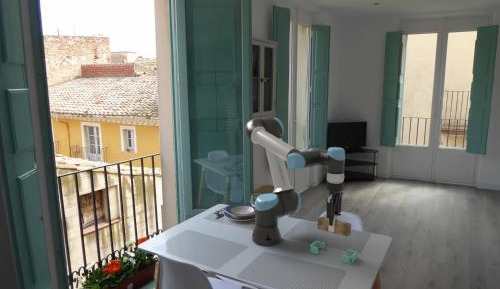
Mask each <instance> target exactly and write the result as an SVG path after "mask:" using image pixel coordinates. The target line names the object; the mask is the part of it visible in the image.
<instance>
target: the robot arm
mask: <svg viewBox="0 0 500 289" xmlns="http://www.w3.org/2000/svg"><path fill="white" fill-rule="evenodd" d="M284 132H285V127H284V124H283V122H282V121H281V120H280V119H279V118H278V117H272V116H269V117H261V118H259V117H258V118H253V119H250V120H249V121H248V122H247V123H245V126H244V134H245V137H246V139H247V140H248V141H249V142H251V143H253V144H255V145H259V146H261V147H263V148H265V152H266V158H267V161H268V165H269V169H270V170H269V171H270V173H271V179H272V182H273V187H274V189H273V191H272V193H262V194H260V195H257V197H256V199H255V205H254V208H255V215H254V216H255V226H254V228H253V232H252V233H251V234H252V235H251V240H252V242H253V243H254V244H256V245H259V246H275V245H277V244H279V243H280V242H281V241H282V235H281V231H280V228H279V218H280V219H281V218H283V217H287V216H289V215H293V214H296V213H297V212H299V210H300V208H301V207H302V198H301V195H300V194H299V192H298V191H295V188H294V187H293V186H292V185H291V182H290V179H289V176H288V170H287V167H288V169H290V171H300V170H302V169H307V168H312V167H313V168H314V167H317V166H319V167H324V168H326V190H327V191H329V194H328V197H326V198H325V201H326V217H325V218H328V219H329V226H328V231H330V232H329V233H331V232H334V230H335V220H337V221H340V220H339V216H341V215H342V214H341V213H342V202H343V192H342V191H343V190H344V180H345V164H346V163H345V161H346V155H345V154H346V151H345V149H344V148H342V147H338V146H337V147H336V146H334V147H333V146H331V147H328V149H327V150H325V149H320V148H318V147H317V148H314V147H313V148H312V147H311V148H309V149H308V150H306V151H301V150H299V149H297V148H296V147H294V146H292V145H290V144H288V143H287V142H286V141H284V140H283V137H282V136H284ZM286 165H287V166H286Z"/></svg>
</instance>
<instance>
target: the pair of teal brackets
mask: <svg viewBox="0 0 500 289" xmlns="http://www.w3.org/2000/svg"><path fill="white" fill-rule="evenodd" d="M308 248H309V249H308V252H309V253H312V254H315V255H318V254H319V249H322V250H324V249H325V242H322V241H320V240H315V241H314V242H312V243H311V244H310V245H309V247H308ZM346 252H347V253H346V255H344V254H342V255H341V263H345V264H348V265H352V264H353V263H354V262H355V260H357V259H358V251H355V250H352V249H350V248H349V249H347V251H346Z"/></svg>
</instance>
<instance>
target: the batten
mask: <svg viewBox="0 0 500 289" xmlns="http://www.w3.org/2000/svg"><path fill="white" fill-rule="evenodd" d="M328 226H329V218H327V217H324V216H320V217H319V218H317V230H320V231H325V232H328V233H332V234H336V235H339V236H344V237H347V238H348V237H349V236H350V235H352V223H351V222H350V223H349V222H346V221H342V220H339V221H337V220H335V230H334V232H330V231H328Z"/></svg>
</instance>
